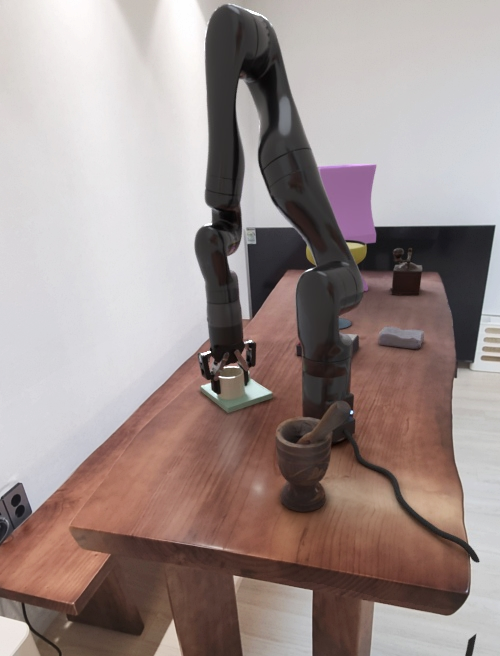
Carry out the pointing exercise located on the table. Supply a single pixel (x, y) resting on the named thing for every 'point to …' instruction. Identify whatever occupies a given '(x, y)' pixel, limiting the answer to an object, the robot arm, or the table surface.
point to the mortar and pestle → (307, 456)
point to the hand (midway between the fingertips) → (230, 388)
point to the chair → (351, 200)
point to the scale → (251, 396)
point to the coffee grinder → (405, 275)
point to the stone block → (401, 337)
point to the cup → (231, 383)
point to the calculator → (354, 337)
